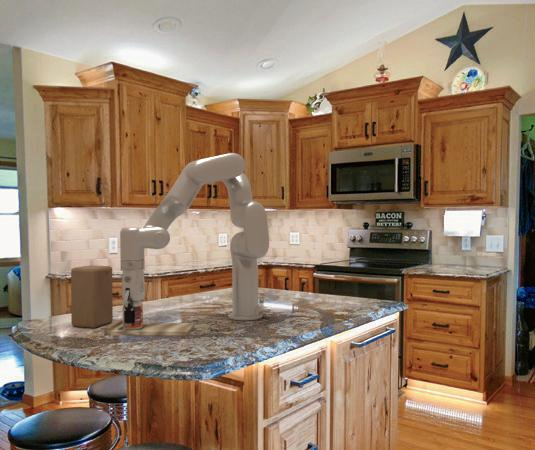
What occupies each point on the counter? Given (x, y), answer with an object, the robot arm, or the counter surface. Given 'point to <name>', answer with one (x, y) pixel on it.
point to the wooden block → (91, 296)
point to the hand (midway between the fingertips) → (133, 320)
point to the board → (150, 329)
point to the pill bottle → (138, 317)
